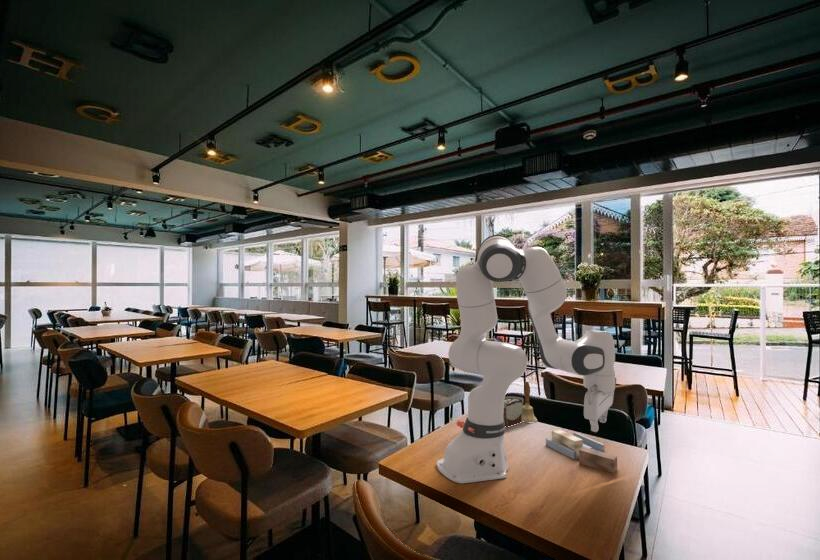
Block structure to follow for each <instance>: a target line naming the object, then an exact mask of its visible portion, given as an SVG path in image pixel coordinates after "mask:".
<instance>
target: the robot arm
mask: <svg viewBox="0 0 820 560" xmlns="http://www.w3.org/2000/svg"><path fill="white" fill-rule="evenodd" d="M513 280H518V281H519V282H520V284H521V286H522V289H523V291H524V293H525V296H526V298H527V311H528V314H529V315H528V316H529V319H530V322H531V324H532V327H533V331H534V333H535V336H536V339H537V342H538V349H539V357H540V360H541V362H542V363H543V364H544V365H545V366H546V367H547V368H550V369H554V370H560V371H563V372H566V373H568V374H569V373H570V374H574V375H577V376H583V387H584V388H585V389H587V391H586V392H585V395H584V399H583V416H584V419H586V420H589V424H590V431H591V432H594V433H598V431H599V429H600V428H599V423H602V424H605V423H606V422H607V417H608V411H609V409H610V408H611V406H613V403H614V395H615V390H616V384H617V377H616V371H615V368H614V367H615V366H614V365H615V362H616V348H615V346H616V345H615V341H614V337H613V335H612V334H611V333H610V332H608V331H605V330H598V329H591V328H590V329H586V330H585V332H584V334H583V335H582V336H581V337H580V338H578V339H576V340H570V339H565V338H563V337H561V336H559V334H558V333H557V332H556V328H555V326H554V323H553V320H552V315H551V314H552V313H553V312H555V311H556V310H558V309H559V308H560V307H562V305H563V304H564V303H565V301H566V300H567V295H568V291H567V290H568V289H567V287H566V284H565V281H564V279H563V277H562V274H561V273H560V271H559V268H558V266H557V265H556V263H555V262H554V260H553V258H552V257H551V255H550V254H549V253H548V251H547V250H546V249H545V248H543V247H540V246H530V247H527V248H525V249H518V248H516V247H515V245H514V244H513V242H512V240H511V239H510V238H508V237H507V236H506V235H502V234H492V235H489V236H488V237H486V238H485V239H484V240H483V241H482V242H481V244H480V246H479V248H478V252H477V254H476V256H475V258H474V263H473V264H472V263H471V264H467V265H464V266H462V267H461V268H459V270H458V271H457V273H456V278H455V281H456V282H455V283H456V284H455V285H456V287H455V288H456V299H457V306H458V311H459V317H460V332H459V335H458V337H457V338H456V339H455V340H453V342H452V343H451V344H450V347H449V349H448V352H447V355H448V360H449V361H448V362H449V363H450V365H451V367H453V368H454V369H457V370H458V371H462V372H464V373H468V374H474V375H480V376H482V377H483V376H484V381H483V380H482V382H483V384H482V385H481V384H480V385H481V386H480V385H478V386H476V387H474V388H472V389H471V390H470V392H469V393H468V396H467V417H466V418H465V421H463V420H461V419H458V420H457V421H456V426H458V427H459V428H461V429H462V431H460V433H459V434H457V436H455V438H454V439H452V440H451V441H450V442H449V443H448V444H447V445H446V447H445V449H444V450H445V451H444V454H443V455H444V456H443V458H441V459H438V460H436V468H437V470H438V472H440V473H441V474H442V475H443V476H444V477H446V478H447V479H449V480H451V481H452V482H455V483H458V484H469V483H476V482H483V481H493V480H498V479H499V480H501V479H505V478H507V471H508V470H509V464H508V463H509V462H508V460H507V455H506V449H505V436H504V435H505V433H506V427H505V421H504V420H503V413H504V399H505V397H506V395H507V392H508V390H509V388H510V386H512V383H514V382H515V381H516V380H518V379H520V378H521V377H522V376H523V375H524V374H525V372H526V371H527V366H528V359H527V355H526V352H525V350H523V348H522V347H521V346H518V345H516V344H512V343H509V342H504V341H494V340H488V339H487V338H486V335H485V334H487V333H489V332H490V331H492V330H493V329H494V328H495V327H496V326H497V323H498V319H499V317H498V313H497V312H498V311H497V305H496V301H495V299H496V298H495V293H494V282H496V283H502V282H506V281H507V282H508V281H513ZM598 422H599V423H598Z"/></svg>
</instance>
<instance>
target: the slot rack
mask: <svg viewBox="0 0 820 560" xmlns="http://www.w3.org/2000/svg"><path fill="white" fill-rule="evenodd" d="M573 436H576V437H578V438H580V439H582V440H583V447H586V448H590V449H593V450H597V451H600V452H604V453H605V449H606V448H605V446H606V445H605V444H604V443H602V442H600V441H597V440H595V439H593V438H590V437H589V436H585V435H583V434H582V433H579V432H576V431H574V432H573ZM545 446H547V447H549V448H551V449H553V450H554V451H557V452H559V453H560V454H563V455H564V456H566V457H568V458H571V459H572V460H577V459H579V456H576V451H574V450H572V449H569V448H567V447H565V446H563V445H561V444H559V443H557V442H555V441H553V440H552V438H551V439H550V438H549V437H548V438H545Z"/></svg>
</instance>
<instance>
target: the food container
mask: <svg viewBox="0 0 820 560" xmlns="http://www.w3.org/2000/svg"><path fill="white" fill-rule="evenodd" d="M524 404H525V399H524V398H523V397H520V396H505V399H504V413H503V420H504V421H505V426H506V427H508V426H511V425H514V424H517V423H520V422H522V409H523V406H524ZM522 423H523V422H522ZM520 424H521V423H520ZM517 425H518V424H517ZM514 426H515V425H514ZM506 427H505V428H506ZM511 427H512V426H511Z"/></svg>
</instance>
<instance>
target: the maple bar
mask: <svg viewBox="0 0 820 560" xmlns="http://www.w3.org/2000/svg"><path fill="white" fill-rule="evenodd" d="M551 440H553V441H555V442H557V443H559V444H561V445H563V446H565V447H567V448H569V449H572V450H574V451H576V456H579V450H580V449H581V448H582V447H583V440H582V439H580V438H578V437H576V436H574V434H571V433H569V432H566V431H564V430H561V429H554V430H551Z"/></svg>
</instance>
